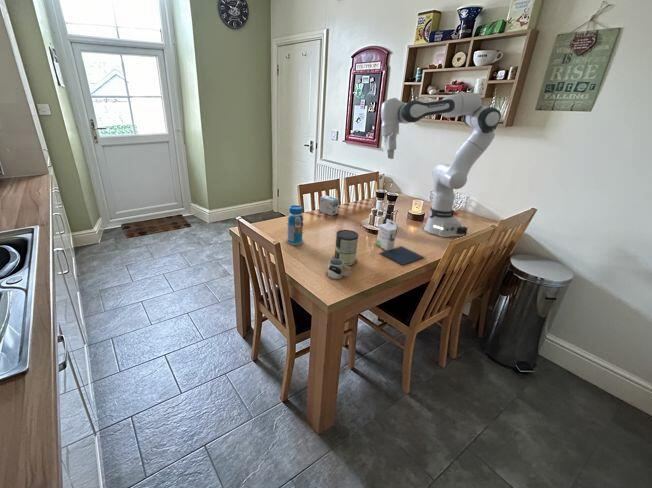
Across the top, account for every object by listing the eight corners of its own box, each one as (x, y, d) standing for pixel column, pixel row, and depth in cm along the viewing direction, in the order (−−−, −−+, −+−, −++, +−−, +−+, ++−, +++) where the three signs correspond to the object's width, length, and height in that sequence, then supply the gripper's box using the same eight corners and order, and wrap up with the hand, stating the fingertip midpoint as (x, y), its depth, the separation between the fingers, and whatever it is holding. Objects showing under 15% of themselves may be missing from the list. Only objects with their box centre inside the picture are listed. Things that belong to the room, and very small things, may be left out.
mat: (380, 253, 167) (380, 253, 167) (401, 247, 175) (401, 246, 175) (402, 265, 156) (402, 264, 156) (423, 257, 164) (423, 257, 164)
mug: (326, 277, 145) (327, 264, 142) (329, 270, 150) (331, 257, 148) (348, 281, 141) (350, 268, 139) (351, 274, 147) (353, 261, 144)
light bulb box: (337, 213, 221) (339, 198, 216) (331, 216, 216) (333, 200, 212) (325, 209, 227) (326, 194, 223) (319, 212, 223) (320, 196, 218)
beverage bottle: (284, 243, 175) (285, 208, 167) (290, 237, 183) (291, 203, 174) (299, 246, 173) (301, 210, 165) (304, 240, 180) (306, 205, 172)
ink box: (375, 244, 177) (379, 219, 171) (382, 243, 179) (386, 217, 173) (386, 251, 170) (390, 224, 164) (393, 249, 172) (398, 223, 166)
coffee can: (329, 259, 160) (332, 233, 154) (342, 253, 166) (345, 227, 161) (347, 267, 153) (350, 240, 147) (359, 260, 160) (362, 234, 154)
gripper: (399, 130, 162) (399, 158, 165) (394, 131, 181) (394, 157, 184) (385, 131, 163) (386, 159, 166) (382, 133, 182) (382, 158, 186)
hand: (390, 158), depth 176 cm, fingers open, 8 cm apart
